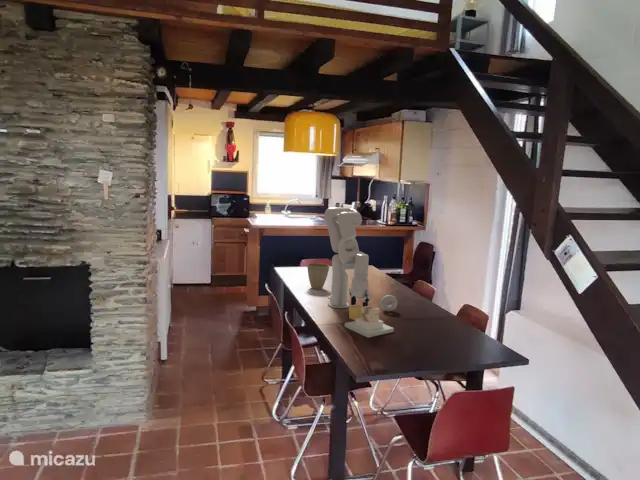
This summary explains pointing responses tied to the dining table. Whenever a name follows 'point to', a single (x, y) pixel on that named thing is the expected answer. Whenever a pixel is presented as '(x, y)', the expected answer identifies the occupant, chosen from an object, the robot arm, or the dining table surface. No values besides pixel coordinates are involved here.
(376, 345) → the dining table surface
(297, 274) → the dining table surface
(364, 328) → the base
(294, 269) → the dining table surface
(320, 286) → the plant pot
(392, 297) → the donut
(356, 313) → the mustard block
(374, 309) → the maple block
